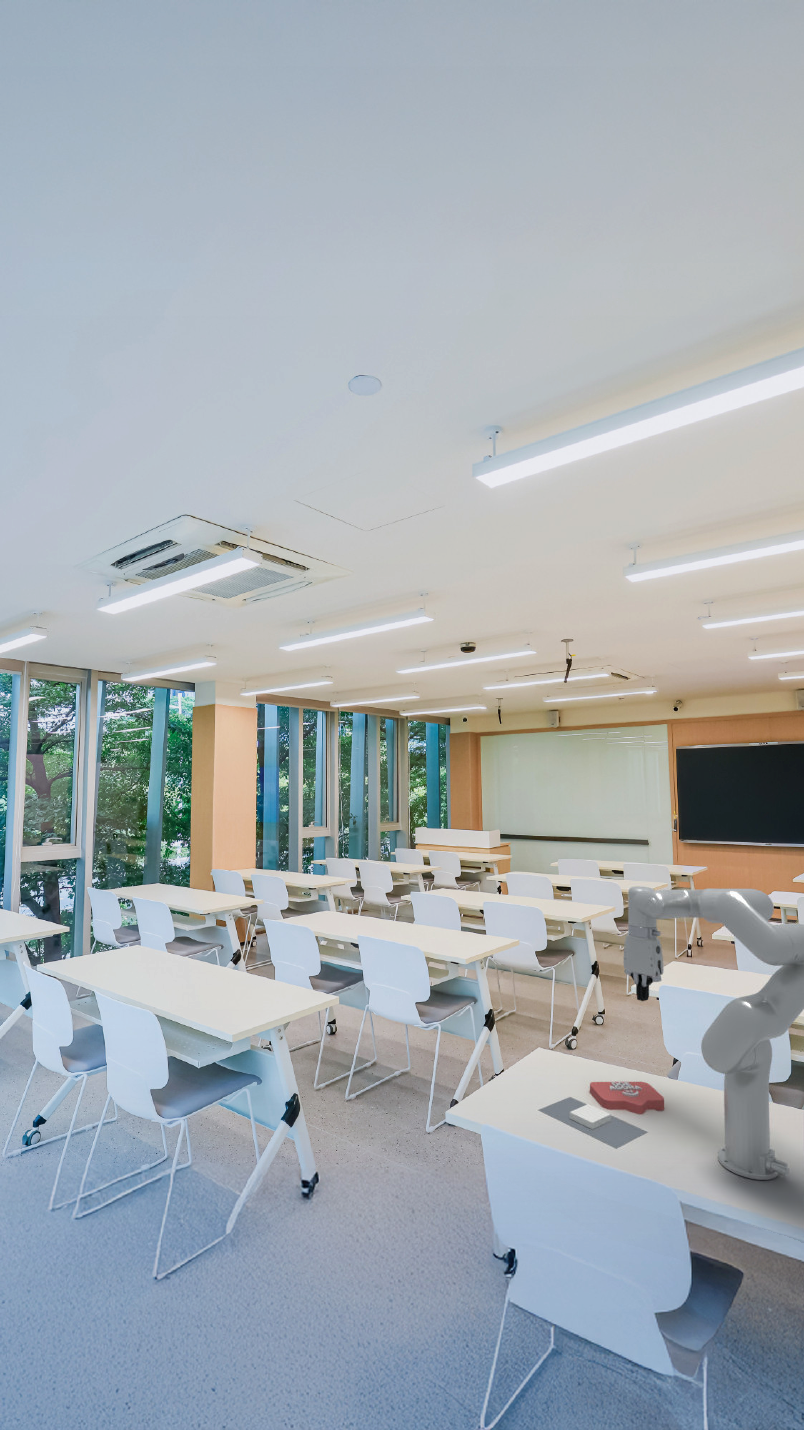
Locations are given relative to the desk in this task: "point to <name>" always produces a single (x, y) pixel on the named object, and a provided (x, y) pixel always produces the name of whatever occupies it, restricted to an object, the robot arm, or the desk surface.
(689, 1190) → the desk surface
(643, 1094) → the plaque
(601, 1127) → the tile mat
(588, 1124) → the tile
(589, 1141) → the desk surface
